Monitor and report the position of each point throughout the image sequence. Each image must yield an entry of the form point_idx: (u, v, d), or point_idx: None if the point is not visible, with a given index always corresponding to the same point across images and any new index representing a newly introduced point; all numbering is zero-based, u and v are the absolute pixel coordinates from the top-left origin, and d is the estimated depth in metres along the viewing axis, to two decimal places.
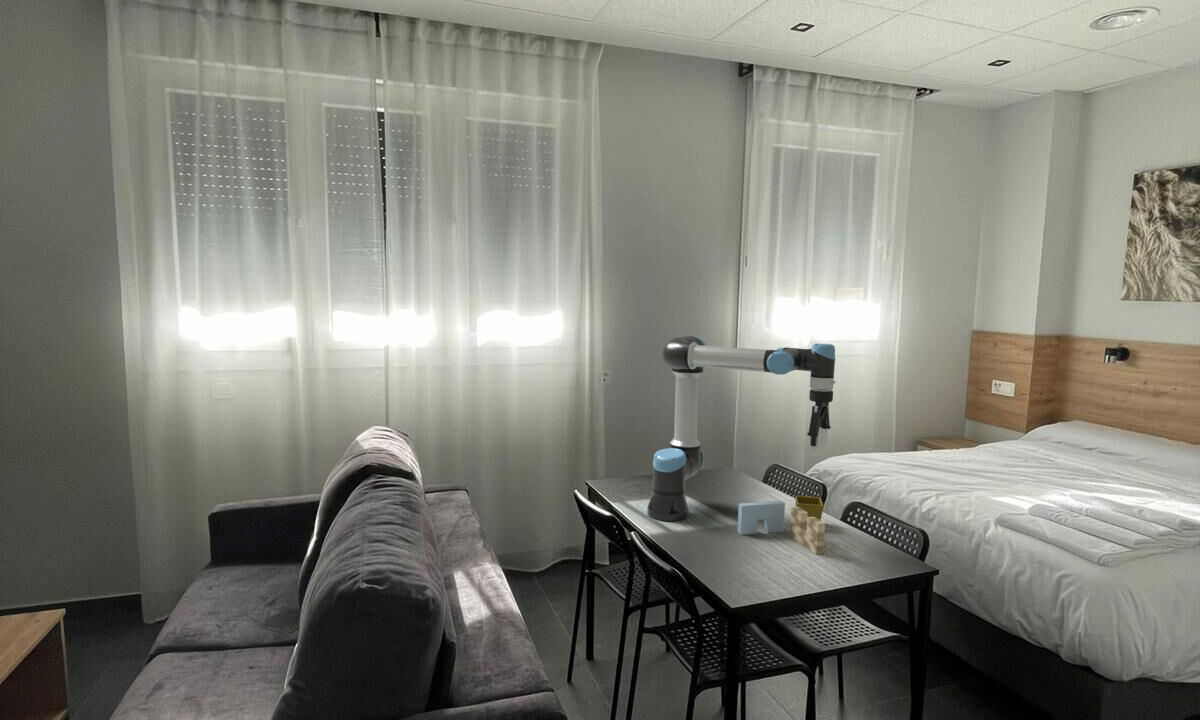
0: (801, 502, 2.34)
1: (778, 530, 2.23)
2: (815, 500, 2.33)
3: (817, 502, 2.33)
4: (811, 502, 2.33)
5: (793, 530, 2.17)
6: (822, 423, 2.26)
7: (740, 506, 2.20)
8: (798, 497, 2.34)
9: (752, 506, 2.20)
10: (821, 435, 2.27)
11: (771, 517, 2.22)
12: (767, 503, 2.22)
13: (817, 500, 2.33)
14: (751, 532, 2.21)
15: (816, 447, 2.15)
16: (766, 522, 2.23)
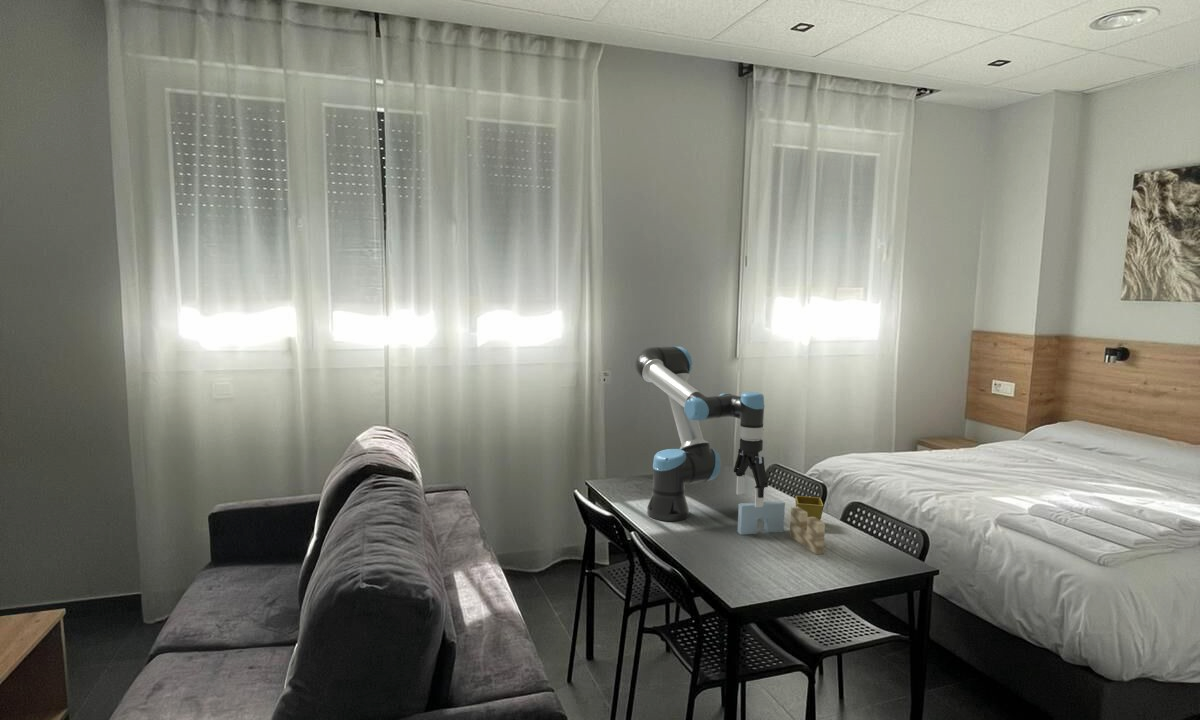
0: (801, 502, 2.34)
1: (778, 530, 2.23)
2: (815, 500, 2.33)
3: (817, 502, 2.33)
4: (811, 502, 2.33)
5: (793, 530, 2.17)
6: (741, 471, 2.25)
7: (740, 506, 2.20)
8: (798, 497, 2.34)
9: (752, 506, 2.20)
10: (739, 483, 2.26)
11: (771, 517, 2.22)
12: (767, 503, 2.22)
13: (817, 500, 2.33)
14: (751, 532, 2.21)
15: (762, 498, 2.13)
16: (766, 522, 2.23)
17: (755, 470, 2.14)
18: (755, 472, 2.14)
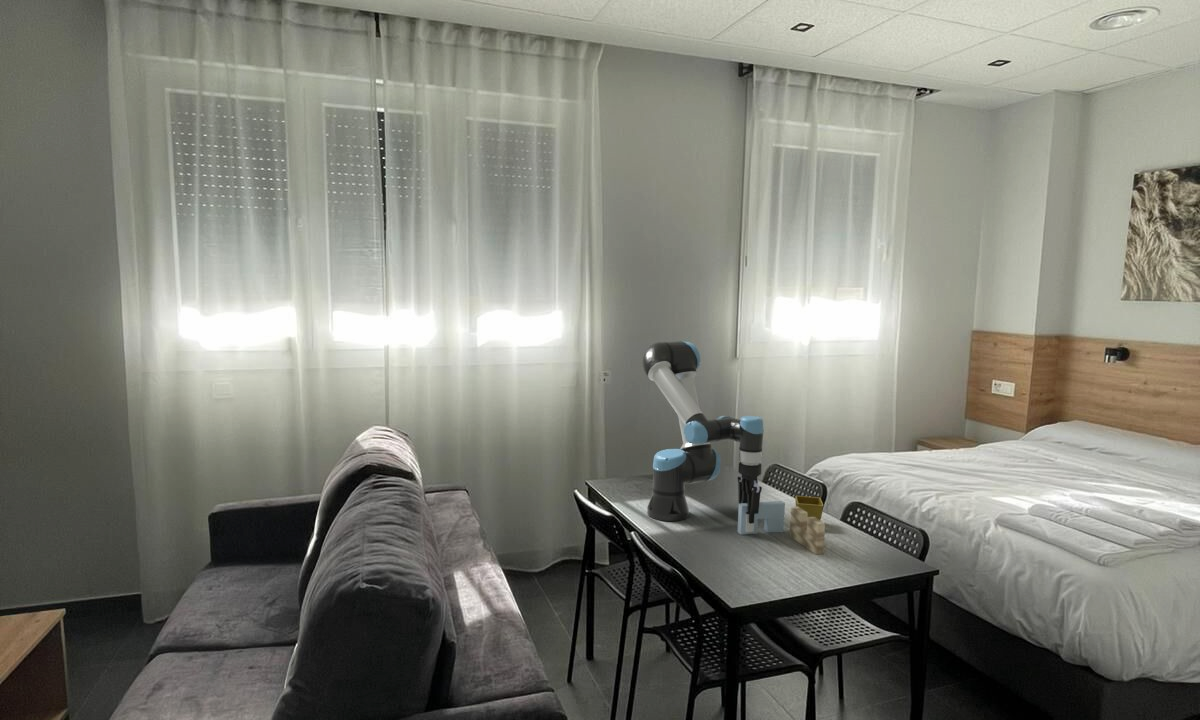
0: (801, 502, 2.34)
1: (778, 530, 2.23)
2: (815, 500, 2.33)
3: (817, 502, 2.33)
4: (811, 502, 2.33)
5: (793, 530, 2.17)
6: (745, 501, 2.22)
7: (740, 506, 2.20)
8: (798, 497, 2.34)
9: None
10: None
11: (771, 517, 2.22)
12: (767, 503, 2.22)
13: (817, 500, 2.33)
14: (751, 532, 2.21)
15: (752, 523, 2.20)
16: (766, 522, 2.23)
17: (750, 496, 2.18)
18: (750, 498, 2.18)
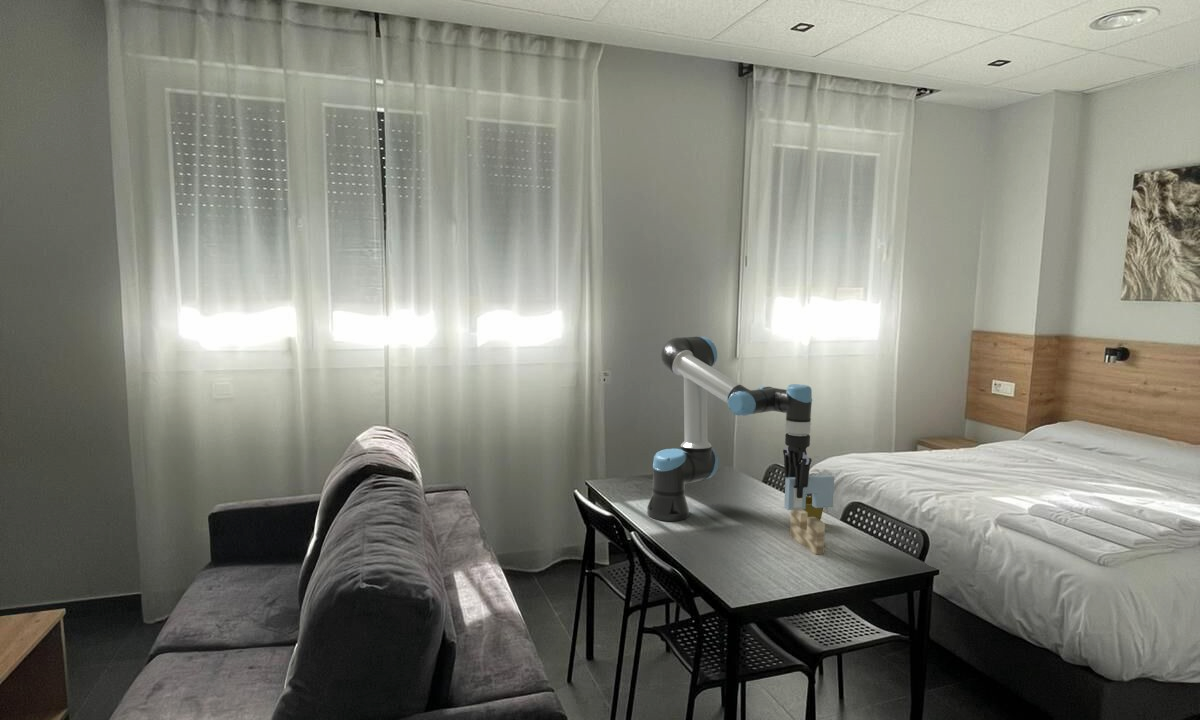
0: None
1: (827, 505, 2.11)
2: None
3: None
4: (811, 502, 2.33)
5: (793, 530, 2.17)
6: (792, 475, 2.10)
7: (787, 480, 2.08)
8: None
9: None
10: None
11: (820, 491, 2.10)
12: (815, 477, 2.10)
13: None
14: (799, 507, 2.08)
15: (801, 498, 2.07)
16: (814, 497, 2.10)
17: (798, 469, 2.06)
18: (798, 471, 2.05)
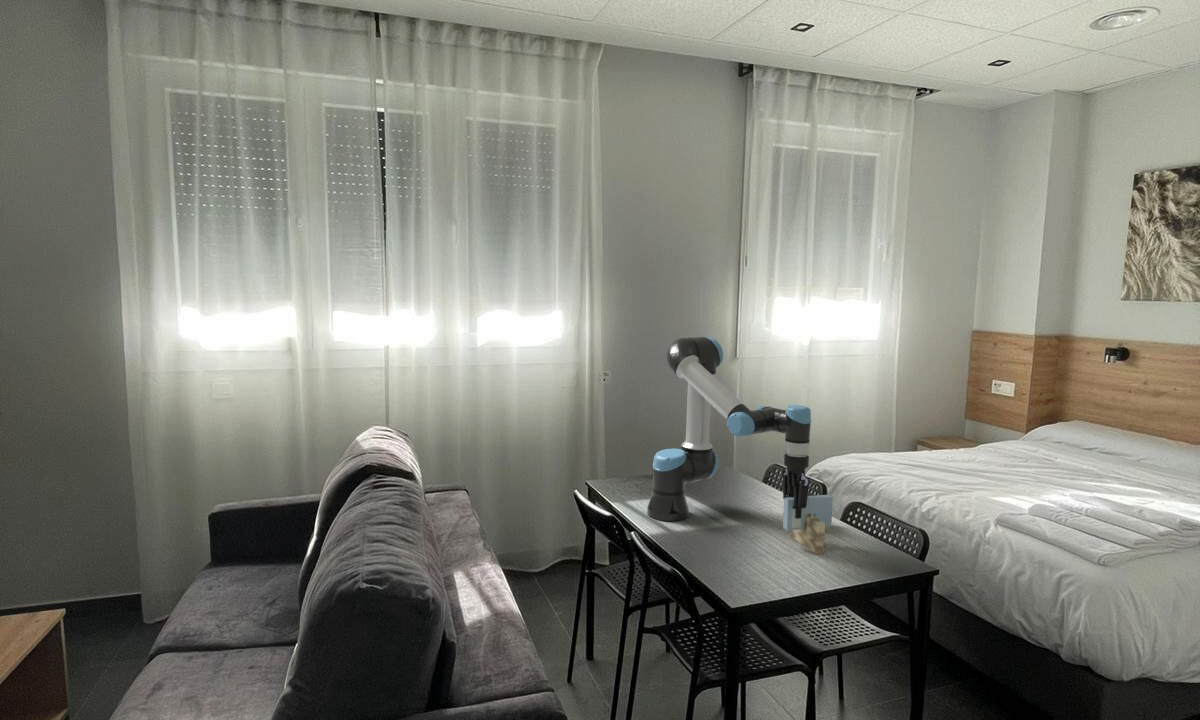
0: None
1: (825, 525, 2.12)
2: None
3: None
4: None
5: (793, 530, 2.17)
6: (791, 495, 2.11)
7: (786, 500, 2.08)
8: None
9: None
10: None
11: (818, 512, 2.10)
12: (814, 497, 2.10)
13: None
14: (798, 528, 2.09)
15: (799, 518, 2.08)
16: None
17: (797, 490, 2.06)
18: (797, 492, 2.06)
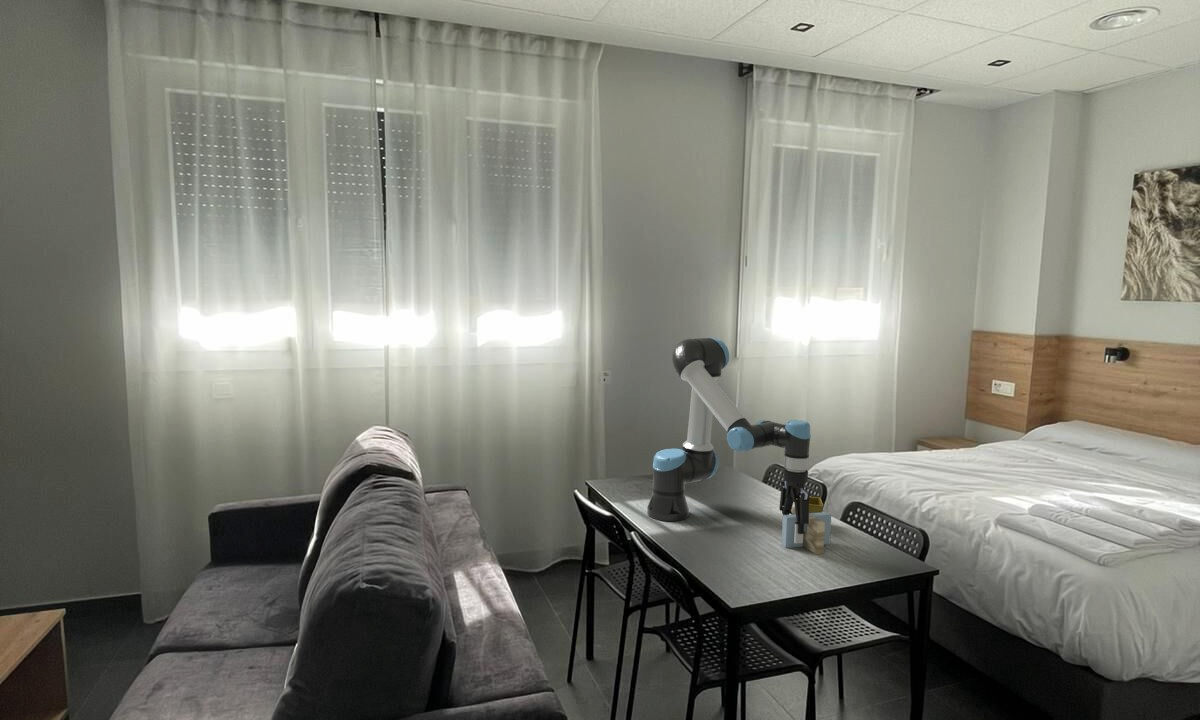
0: None
1: (824, 543, 2.12)
2: (815, 500, 2.33)
3: (817, 502, 2.33)
4: (811, 502, 2.33)
5: None
6: (787, 507, 2.13)
7: (785, 518, 2.09)
8: None
9: None
10: None
11: None
12: (813, 514, 2.11)
13: (817, 500, 2.33)
14: (796, 545, 2.10)
15: (802, 534, 2.07)
16: None
17: (798, 504, 2.06)
18: (797, 507, 2.06)
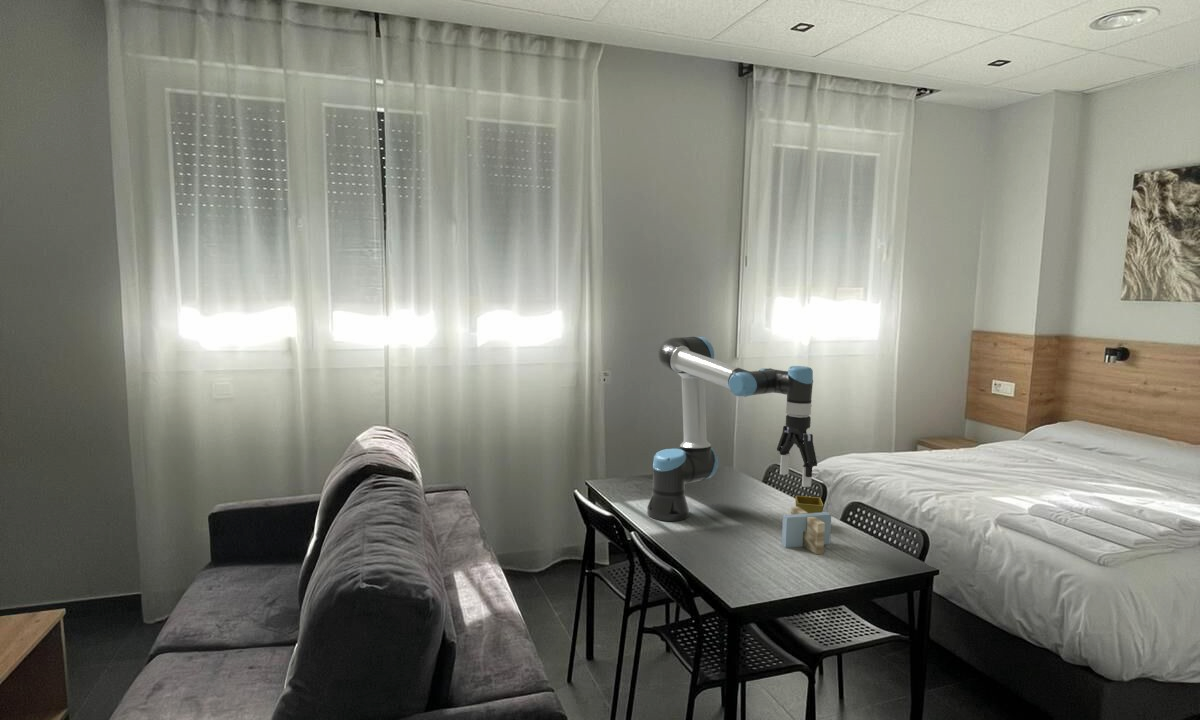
0: (801, 502, 2.34)
1: (824, 543, 2.12)
2: (815, 500, 2.33)
3: (817, 502, 2.33)
4: (811, 502, 2.33)
5: None
6: (786, 449, 2.13)
7: (785, 518, 2.09)
8: (798, 497, 2.34)
9: (798, 518, 2.09)
10: (783, 462, 2.15)
11: None
12: (813, 514, 2.11)
13: (817, 500, 2.33)
14: (796, 545, 2.10)
15: (810, 477, 2.02)
16: None
17: (803, 448, 2.03)
18: (803, 450, 2.02)
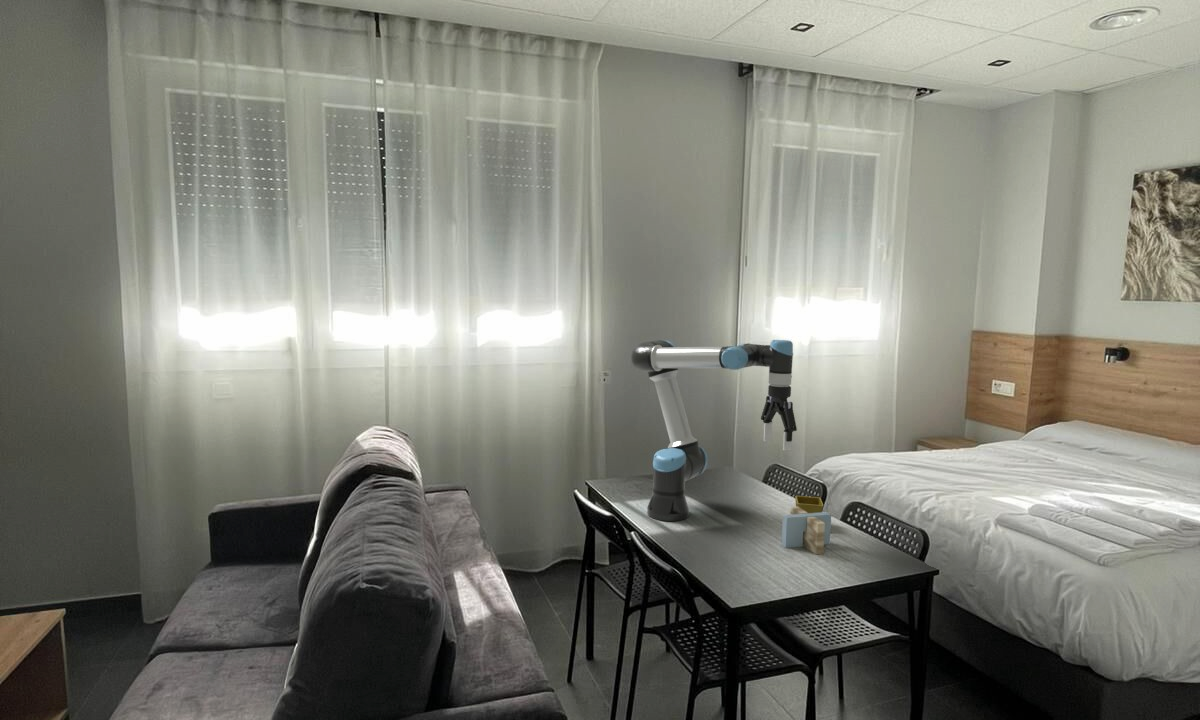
0: (801, 502, 2.34)
1: (824, 543, 2.12)
2: (815, 500, 2.33)
3: (817, 502, 2.33)
4: (811, 502, 2.33)
5: None
6: (769, 418, 2.30)
7: (785, 518, 2.09)
8: (798, 497, 2.34)
9: (798, 518, 2.09)
10: (767, 429, 2.31)
11: None
12: (813, 514, 2.11)
13: (817, 500, 2.33)
14: (796, 545, 2.10)
15: (790, 442, 2.19)
16: None
17: (784, 415, 2.20)
18: (784, 417, 2.19)
